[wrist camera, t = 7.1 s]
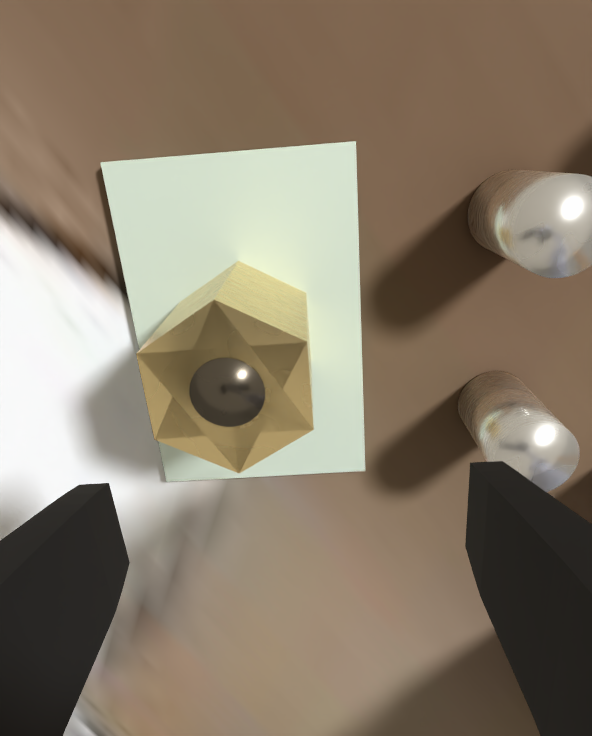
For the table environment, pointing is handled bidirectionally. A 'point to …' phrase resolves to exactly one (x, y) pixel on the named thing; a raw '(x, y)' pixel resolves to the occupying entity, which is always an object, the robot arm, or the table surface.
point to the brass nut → (231, 370)
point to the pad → (263, 252)
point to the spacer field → (545, 258)
